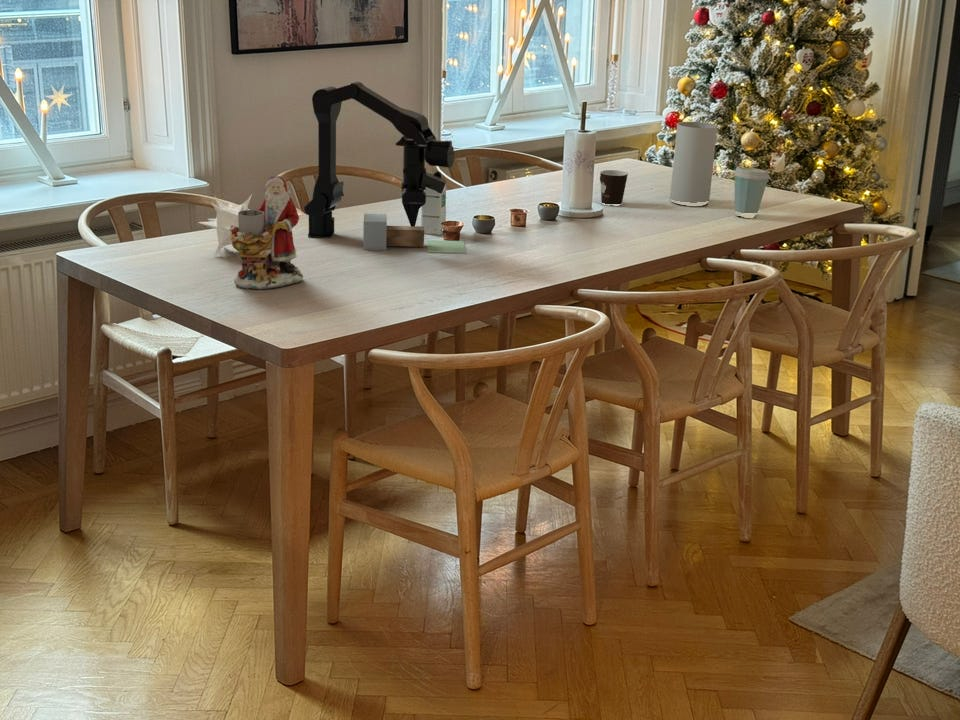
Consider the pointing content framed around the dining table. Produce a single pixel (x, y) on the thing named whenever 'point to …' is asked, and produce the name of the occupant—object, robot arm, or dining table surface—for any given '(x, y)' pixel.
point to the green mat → (445, 246)
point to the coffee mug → (612, 186)
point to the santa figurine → (267, 240)
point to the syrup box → (433, 211)
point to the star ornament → (225, 221)
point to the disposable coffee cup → (749, 189)
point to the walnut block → (405, 236)
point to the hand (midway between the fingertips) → (412, 222)
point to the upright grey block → (374, 231)
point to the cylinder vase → (693, 162)
